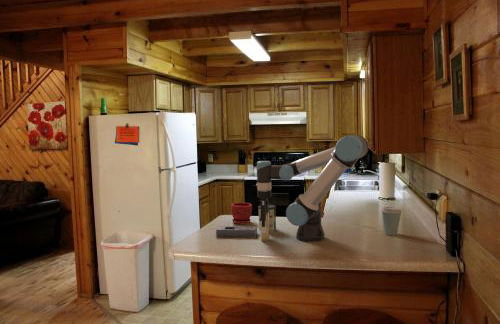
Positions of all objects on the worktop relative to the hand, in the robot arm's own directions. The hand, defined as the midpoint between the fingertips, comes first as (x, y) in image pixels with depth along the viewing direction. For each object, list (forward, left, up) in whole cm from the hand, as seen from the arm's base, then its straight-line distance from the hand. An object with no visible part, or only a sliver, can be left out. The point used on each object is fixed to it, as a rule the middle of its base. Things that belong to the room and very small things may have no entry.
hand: (265, 229), depth 227 cm
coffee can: (+1, -22, -6) cm, 23 cm away
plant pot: (+19, -40, -6) cm, 45 cm away
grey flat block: (+17, -9, -6) cm, 20 cm away
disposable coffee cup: (-68, -15, -6) cm, 70 cm away
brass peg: (0, 0, -6) cm, 6 cm away
